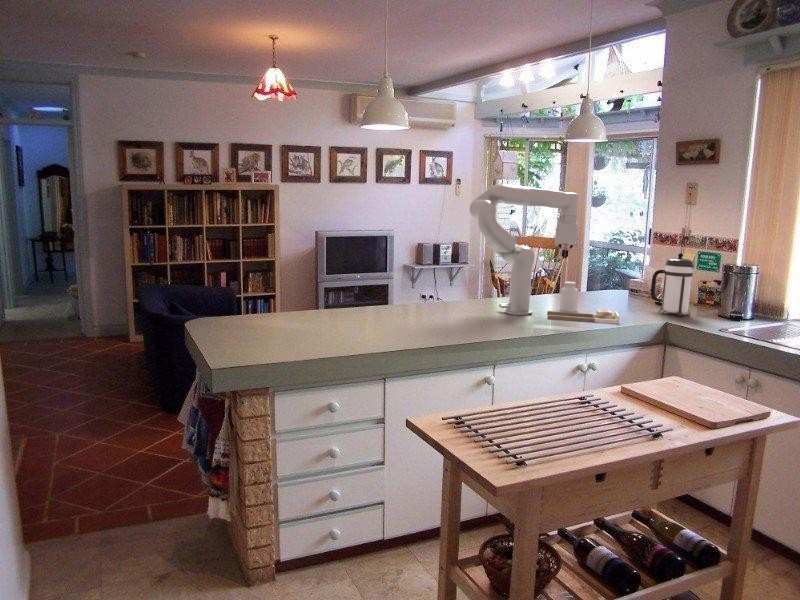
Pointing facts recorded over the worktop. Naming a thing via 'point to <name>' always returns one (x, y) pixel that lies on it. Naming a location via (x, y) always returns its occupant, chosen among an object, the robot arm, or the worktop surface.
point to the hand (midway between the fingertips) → (564, 258)
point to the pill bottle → (569, 297)
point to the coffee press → (675, 285)
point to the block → (604, 314)
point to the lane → (582, 317)
